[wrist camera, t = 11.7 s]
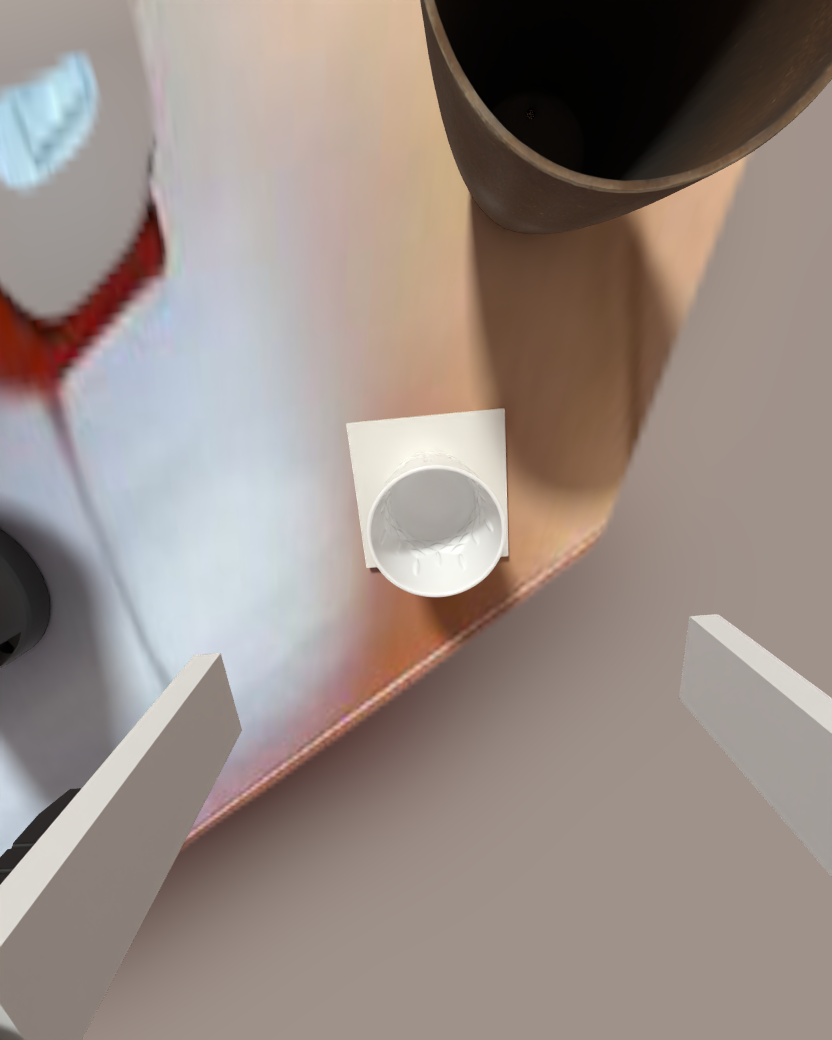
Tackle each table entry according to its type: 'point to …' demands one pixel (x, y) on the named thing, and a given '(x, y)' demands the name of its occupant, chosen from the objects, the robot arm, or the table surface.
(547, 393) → the table surface
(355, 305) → the table surface
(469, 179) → the plant pot
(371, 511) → the white cup
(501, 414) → the tile
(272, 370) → the table surface
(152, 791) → the robot arm
